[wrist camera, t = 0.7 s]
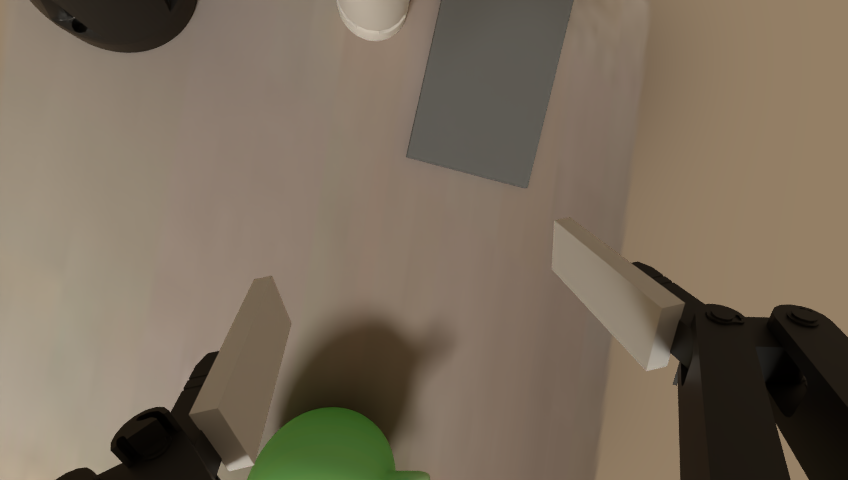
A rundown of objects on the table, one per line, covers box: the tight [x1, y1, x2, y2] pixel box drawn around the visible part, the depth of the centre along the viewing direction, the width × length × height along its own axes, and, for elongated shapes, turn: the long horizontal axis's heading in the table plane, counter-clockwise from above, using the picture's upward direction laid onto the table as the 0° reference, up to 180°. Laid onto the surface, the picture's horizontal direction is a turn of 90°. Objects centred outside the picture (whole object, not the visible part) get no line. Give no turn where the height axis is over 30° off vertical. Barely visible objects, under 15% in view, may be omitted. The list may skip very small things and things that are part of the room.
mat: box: [406, 0, 573, 188], centre depth 43 cm, size 32×16×1 cm, turn 167°
